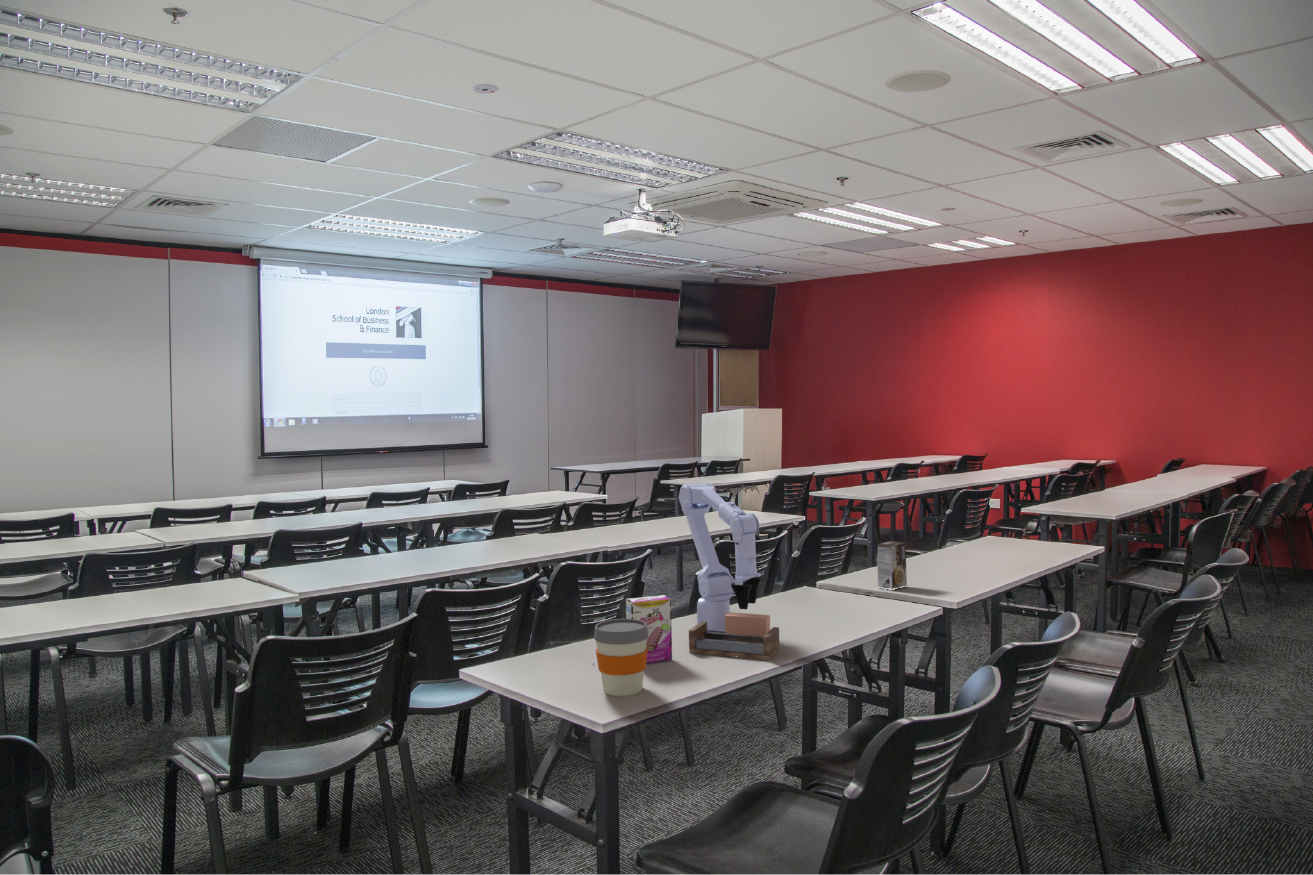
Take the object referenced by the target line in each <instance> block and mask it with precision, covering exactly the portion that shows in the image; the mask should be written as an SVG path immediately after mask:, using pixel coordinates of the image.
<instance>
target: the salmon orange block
mask: <svg viewBox="0 0 1313 875" xmlns="http://www.w3.org/2000/svg"><path fill="white" fill-rule="evenodd" d="M770 630H771V615H770V614H759V613H745V612H732V611H730V612H729V613H727V614H726V615H725V632H724V633H731V634H743V635H754V636H764V635H765V634H767V633H768V632H769V631H770Z"/></svg>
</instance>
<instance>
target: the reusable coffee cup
mask: <svg viewBox="0 0 1313 875" xmlns="http://www.w3.org/2000/svg"><path fill="white" fill-rule="evenodd" d="M593 638H594V641H595V642H596V644H595V645H596V649H595V654H596V655H595V656H596V661H597V662H596V663H597V668H598V671H599V672H600V675H601V682H602V683H601V684H602V688H603V692H604V693H605V694H607V695H609V696H615V697H628V696H632V695H633V696H634V695H636V694H639V693H640V692H642V691H643V690H642V689H643V683H644V682H643V681H644V672H645V670H646V668H647V664H646V660H647V650H648V648H647V647H646V641H647V638H648V630H647V624H646V622H644V621H641V620H636V619H626V618H614V619H607V620H602V621H601V622H597V623H596V624H595V626H594V636H593Z"/></svg>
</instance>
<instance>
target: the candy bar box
mask: <svg viewBox="0 0 1313 875" xmlns="http://www.w3.org/2000/svg"><path fill="white" fill-rule="evenodd" d="M625 608H626V609H625V619H636V620H641V621H644V622H646V624H647V630H648V638H647V641H646V647H647V648H648V650H647V660H646V665H647V664H654V663H655V664H656V663H660V662H661V663H663V662H669V661H672V660H673V638H672V636H673V634H672V633H673V632H672V631H673V630H672V598H671V597H669V596H667V595H666V594H663V595H662V594H661V595H653V596H651V595H650V596H642V597H641V596H640V597H632V598H630V597H629V598H626V599H625Z"/></svg>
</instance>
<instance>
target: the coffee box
mask: <svg viewBox="0 0 1313 875" xmlns="http://www.w3.org/2000/svg"><path fill="white" fill-rule="evenodd" d="M906 551H907V550H906V542H901V541H894V540H891V541H885V542H880V543H876V559H877V562H876V563H877V565H876V567H877V587H878V586H879V587H883V588H892V589H893V588H899V587H902V586H906V585H907V586H908V584H907V583H908V580H907V555H906Z"/></svg>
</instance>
